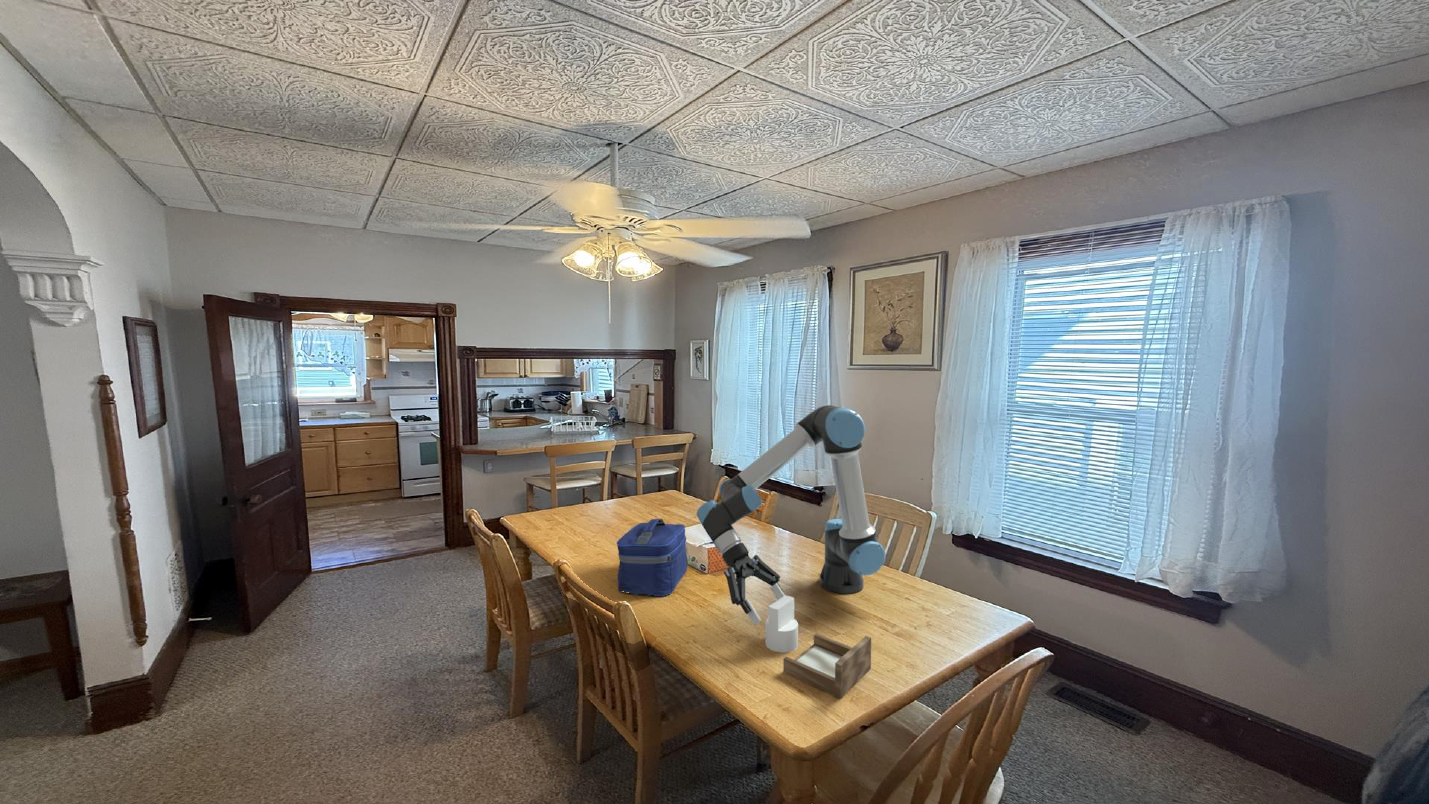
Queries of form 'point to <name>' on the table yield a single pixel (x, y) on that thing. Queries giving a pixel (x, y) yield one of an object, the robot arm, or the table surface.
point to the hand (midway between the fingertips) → (772, 613)
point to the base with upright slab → (782, 626)
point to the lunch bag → (652, 558)
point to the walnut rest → (831, 665)
